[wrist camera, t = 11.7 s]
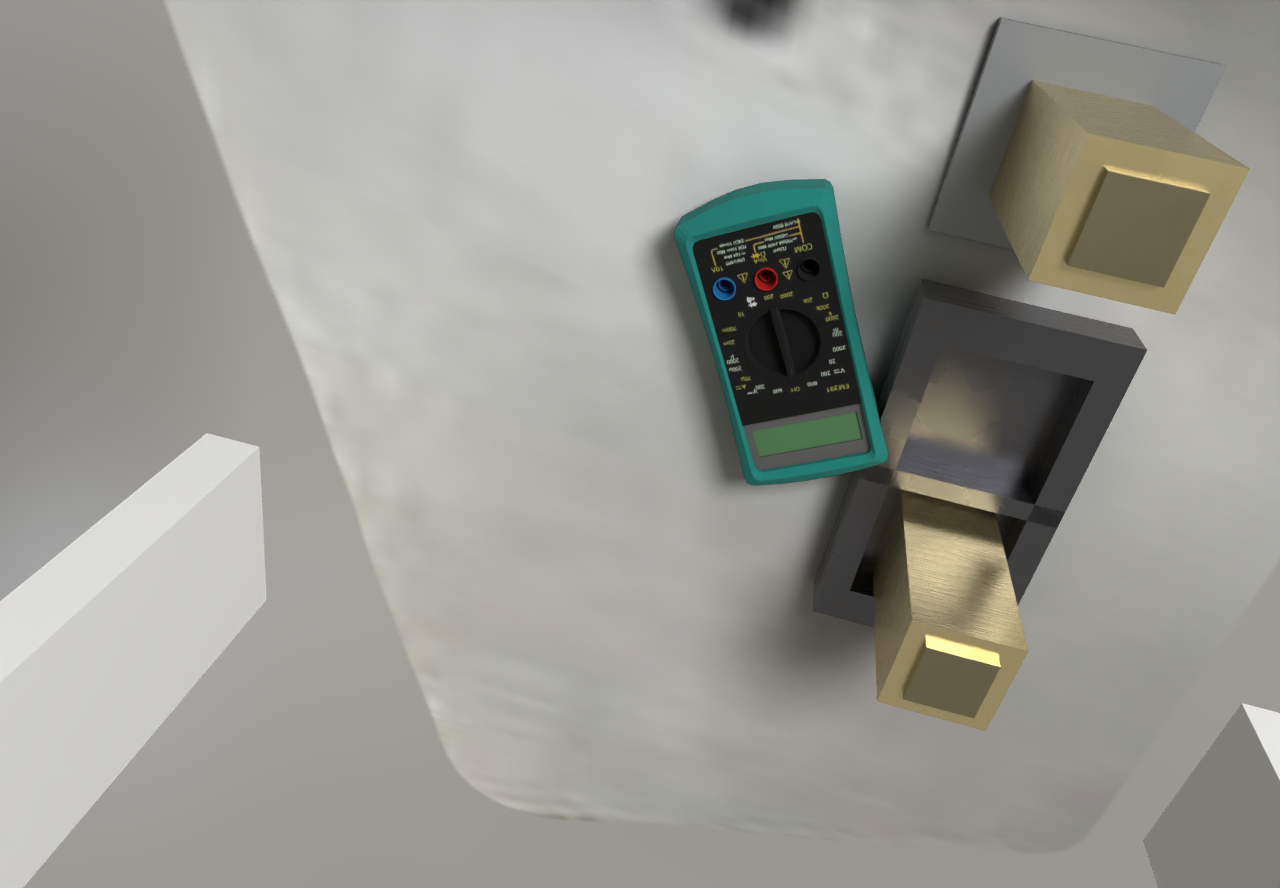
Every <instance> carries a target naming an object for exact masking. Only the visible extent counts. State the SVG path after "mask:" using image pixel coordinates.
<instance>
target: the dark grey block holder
mask: <svg viewBox="0 0 1280 888" xmlns="http://www.w3.org/2000/svg"><path fill="white" fill-rule="evenodd" d="M1146 351H1147V349H1146V348H1145V346H1144V345H1143V343H1142V342H1141V340H1140V339H1139V337H1138V336H1137V334H1136V333H1135V331H1134V330H1133V329H1132V328H1127V327H1123V326H1119V325H1115V324H1110V323H1106V322H1102V321H1097V320H1093V319H1089V318H1085V317H1080V316H1076V315H1072V314H1068V313H1063V312H1059V311H1055V310H1050V309H1046V308H1042V307H1038V306H1033V305H1029V304H1025V303H1020V302H1016V301H1012V300H1008V299H1003V298H999V297H995V296H991V295H986V294H982V293H978V292H973V291H969V290H965V289H961V288H956V287H952V286H948V285H943V284H939V283H935V282H931V281H926V280H922V279H921V281H920V284H919V286H918V289H917V292H916V295H915V298H914V301H913V304H912V306H911V309H910V312H909V315H908V318H907V321H906V323H905V326H904V329H903V332H902V335H901V338H900V341H899V343H898V346H897V349H896V352H895V355H894V358H893V361H892V363H891V366H890V369H889V372H888V375H887V378H886V381H885V383H884V386H883V389H882V392H881V395H880V398H879V400H878V403H877V405H878V409H879V417H880V425H881V428H882V432H883V436H884V440H885V443H886V447H887V451H888V459H887V460H886V461H885V462H884V463H882V464H879V465H876V466H872V467H868V468H864V469H860V470H856V471H854V472H853V475H852V477H851V480H850V483H849V486H848V489H847V492H846V495H845V497H844V500H843V503H842V506H841V509H840V512H839V515H838V517H837V520H836V523H835V526H834V529H833V532H832V534H831V537H830V540H829V543H828V546H827V549H826V552H825V554H824V557H823V560H822V563H821V566H820V569H819V572H818V574H817V577H816V580H815V583H814V599H813V611H815V612H819V613H823V614H827V615H830V616H834V617H838V618H842V619H845V620H849V621H853V622H857V623H861V624H864V625H868V626H872V627H875V624H874V593H873V563H872V559H873V557H874V554H875V551H876V549H877V546H878V544H879V541H880V538H881V536H882V533H883V531H884V528H885V525H886V523H887V520H888V518H889V515H890V513H891V510H892V507H893V505H894V502H895V500H896V497H897V494H898V492H899V489H903V490H907V491H911V492H915V493H919V494H923V495H927V496H931V497H935V498H939V499H943V500H947V501H951V502H955V503H959V504H962V505H966V506H970V507H974V508H978V509H982V510H986V511H990V512H994V513H995V514H996V518H997V522H998V526H999V530H1000V535H1001V539H1002V543H1003V547H1004V551H1005V556H1006V560H1007V564H1008V568H1009V572H1010V577H1011V581H1012V585H1013V589H1014V593H1015V597H1016V602H1017V606H1018V604H1019V602H1020V600H1021V598H1022V596H1023V594H1024V592H1025V590H1026V588H1027V586H1028V584H1029V582H1030V581H1031V579H1032V577H1033V575H1034V573H1035V571H1036V569H1037V567H1038V565H1039V563H1040V561H1041V559H1042V557H1043V555H1044V553H1045V551H1046V549H1047V547H1048V545H1049V543H1050V541H1051V539H1052V537H1053V535H1054V533H1055V531H1056V529H1057V527H1058V525H1059V523H1060V521H1061V519H1062V517H1063V515H1064V513H1065V511H1066V509H1067V507H1068V505H1069V503H1070V502H1071V500H1072V498H1073V496H1074V494H1075V492H1076V490H1077V488H1078V486H1079V484H1080V482H1081V480H1082V478H1083V476H1084V474H1085V472H1086V470H1087V468H1088V466H1089V464H1090V462H1091V460H1092V458H1093V456H1094V454H1095V452H1096V450H1097V448H1098V446H1099V444H1100V442H1101V440H1102V438H1103V436H1104V434H1105V432H1106V430H1107V428H1108V426H1109V424H1110V422H1111V421H1112V419H1113V417H1114V415H1115V413H1116V411H1117V409H1118V407H1119V405H1120V403H1121V401H1122V399H1123V397H1124V395H1125V393H1126V391H1127V389H1128V387H1129V385H1130V383H1131V381H1132V379H1133V377H1134V375H1135V373H1136V371H1137V369H1138V367H1139V365H1140V363H1141V361H1142V359H1143V357H1144V355H1145V353H1146ZM864 453H865V452H864Z"/></svg>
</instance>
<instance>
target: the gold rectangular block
mask: <svg viewBox="0 0 1280 888" xmlns="http://www.w3.org/2000/svg"><path fill="white" fill-rule="evenodd" d="M872 563H873V593H874V624H875V654H876V685H877V702H880V703H884V704H888V705H891V706H895V707H899V708H902V709H906V710H910V711H914V712H917V713H921V714H925V715H928V716H932V717H936V718H939V719H943V720H947V721H951V722H954V723H958V724H962V725H965V726H969V727H973V728H976V729H980V730H984V731H986V730H987V728H988V726H989V724H990V722H991V720H992V718H993V717H994V715H995V713H996V711H997V709H998V707H999V705H1000V703H1001V702H1002V700H1003V698H1004V696H1005V694H1006V692H1007V690H1008V688H1009V687H1010V685H1011V683H1012V681H1013V679H1014V677H1015V675H1016V673H1017V671H1018V670H1019V668H1020V666H1021V664H1022V662H1023V660H1024V658H1025V656H1026V655H1027V653H1028V648H1027V644H1026V639H1025V635H1024V631H1023V627H1022V623H1021V618H1020V614H1019V610H1018V606H1017V602H1016V597H1015V593H1014V589H1013V585H1012V581H1011V577H1010V572H1009V568H1008V564H1007V560H1006V556H1005V551H1004V547H1003V543H1002V539H1001V535H1000V530H999V526H998V522H997V518H996V514H995V513H994V512H990V511H986V510H982V509H978V508H974V507H970V506H966V505H962V504H959V503H955V502H951V501H947V500H943V499H939V498H935V497H931V496H927V495H923V494H919V493H915V492H911V491H907V490H903V489H899V492H898V494H897V497H896V500H895V502H894V505H893V507H892V510H891V513H890V515H889V518H888V520H887V523H886V525H885V528H884V531H883V533H882V536H881V538H880V541H879V544H878V546H877V549H876V551H875V554H874V557H873V559H872Z"/></svg>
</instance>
